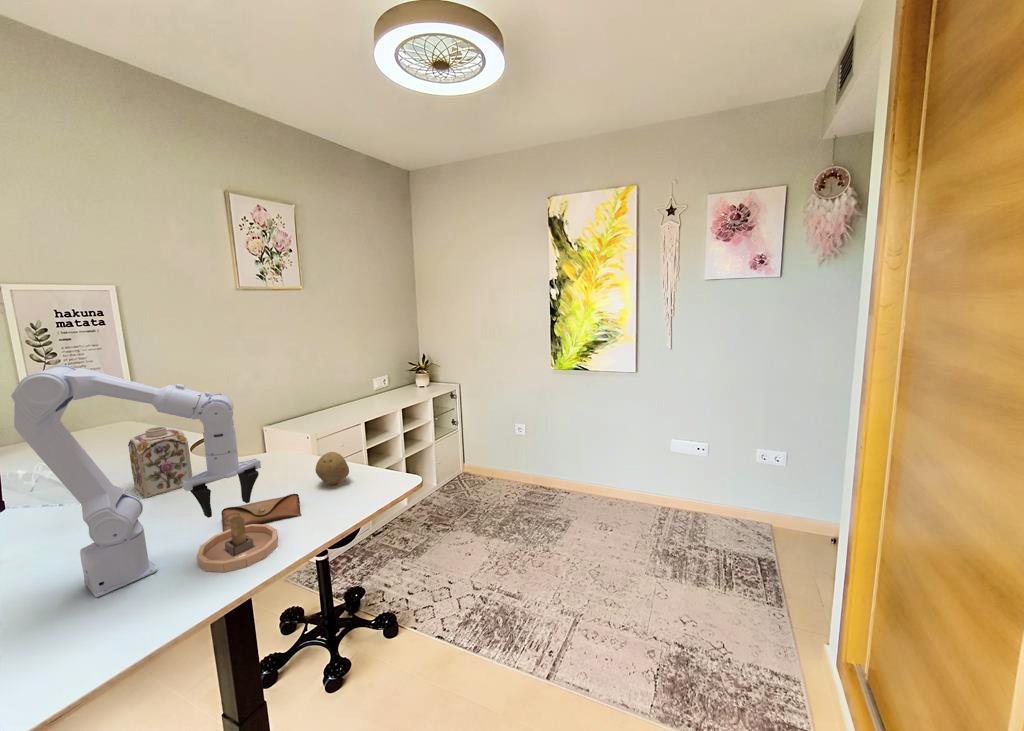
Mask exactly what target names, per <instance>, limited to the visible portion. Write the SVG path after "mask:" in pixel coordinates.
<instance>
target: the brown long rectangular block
mask: <svg viewBox="0 0 1024 731" xmlns="http://www.w3.org/2000/svg"><path fill="white" fill-rule="evenodd" d="M230 525H231V534H232V542H233V546H237V545H239V544H241V543H244V542H246V532H245V523H244V518H243V517H241V516H238V517H235V518H233V519H230Z"/></svg>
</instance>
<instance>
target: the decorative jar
mask: <svg viewBox="0 0 1024 731" xmlns="http://www.w3.org/2000/svg"><path fill="white" fill-rule="evenodd" d="M127 446H128V452H129V458H130V459H129V460H130V467H131V474H132V479H133V480H132V481H133V485H134V488H136V489H137V491H138V492H139V493H140V494H141V495H142V496H143V497H144V498H146V499H147V498H151V497H153V496H157V495H161V494H164V493H168V492H171V491H175V490H178V489H179V490H180V489H182V488H183V482H182V480H185V479H188V478H191V477H193V470H192V462H191V454H190V448H189V447H190V446H189V441H188V439H187V437H186V435H185V433H184V432H183V431H182V430H180V429H167V427H166V426H154V427H150V428H147V429H145V432H144V433H141V434H138V435H135V436H134V437H132V438H130V440H129V442H128V445H127Z"/></svg>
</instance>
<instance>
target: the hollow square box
mask: <svg viewBox="0 0 1024 731" xmlns="http://www.w3.org/2000/svg"><path fill="white" fill-rule="evenodd" d="M254 547H255V545H253V539H252V538H250V537H249V536H247V535H246V542H244V543H241V544H239V545H237V546H233V542H232V539H231V540H229V541H226V543H225V549H223V550H224V551H226V552H227V553H228V554H230V555H231V556H233V557H234V556H237V555H239V554H241V553H243V552H245V551H247V550H249V549H252V548H254Z"/></svg>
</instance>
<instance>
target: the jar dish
mask: <svg viewBox="0 0 1024 731" xmlns="http://www.w3.org/2000/svg"><path fill="white" fill-rule="evenodd" d="M245 532H246V535H247V536H249V537H250V538H252V539H253V545H255V547H254V548H252V549H249V550H247V551H245V552H243V553H241V554H239V555H237V556H234V557H233V556H231V555H230V554H228V553H227V552H226V551H224V550H223V549H225V543H226V541H229V540H231V539H232V534H231V529H229V530H227V531H224V532H223V531H222V532H220V533H217V534H214V535H213V536H212V537H210V538H209V539H207V540H206V541H205V542H203V544H201V545H200V546H199V549H198V551H197V553H196V561H197V566H199V567H200V568H202V570H203V571H205V572H213V573H227V572H230V571H231V572H232V571H237V570H240V569H243V568H247V567H249V566H251V565H254V564H255V563H257V562H259V561H261V560H263V559H265V558H267V557H268V556H269V555H270V554H271V553H272V552H273V551H274V550H275V549H276V548H278V540H279V536H278V529H276V528H275V527H273V526H271V525H270V524H250V525H245Z"/></svg>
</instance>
